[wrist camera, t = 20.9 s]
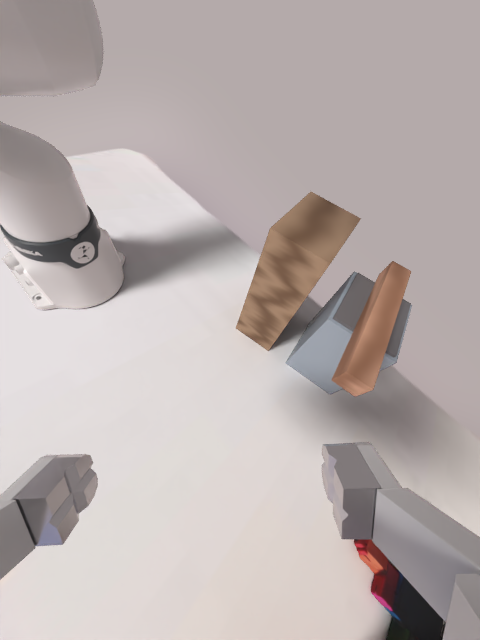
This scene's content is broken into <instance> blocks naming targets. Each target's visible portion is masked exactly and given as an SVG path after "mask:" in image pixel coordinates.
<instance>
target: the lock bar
mask: <svg viewBox="0 0 480 640" xmlns="http://www.w3.org/2000/svg"><path fill="white" fill-rule="evenodd" d="M410 274H411V271H410V270H408V269H406V268H404V267H403V266H401V265H399V264H397V263H396V262H394V261H392V262H391V263H390V264H389V265H388V266H387V267H386V268H385V269H384V270H383V271H382V272H381V273H380V274H379V276H378V278H377V280H376V282H375V285H374V287H373V289H372V291H371V293H370V296H369V298H368V300H367V302H366V305H365V307H364V309H363V311H362V313H361V316H360V318H359V320H358V322H357V324H356V327H355V329H354V331H353V333H352V335H351V338H350V340H349V342H348V344H347V347H346V349H345V351H344V353H343V355H342V358H341V360H340V362H339V364H338V366H337V369H336V371H335V373H334V375H333V377H332V381H333V382H334V383H336V384H337V385H339V386H340V387H342V388H343V389H344V390H346V391H347V392H349V393H350V394H352V395H353V396H355V397H356V396H359V395H361V394H364V393H366V392H369V391H371V390H373V389H374V386H375V383H376V380H377V377H378V373H379V370H380V367H381V364H382V361H383V358H384V355H385V352H386V349H387V345H388V342H389V339H390V336H391V333H392V330H393V327H394V324H395V321H396V318H397V314H398V311H399V308H400V305H401V302H402V299H403V296H404V293H405V289H406V286H407V283H408V280H409V277H410Z"/></svg>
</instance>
